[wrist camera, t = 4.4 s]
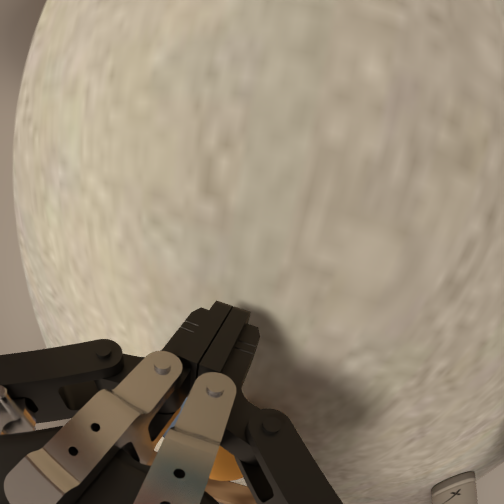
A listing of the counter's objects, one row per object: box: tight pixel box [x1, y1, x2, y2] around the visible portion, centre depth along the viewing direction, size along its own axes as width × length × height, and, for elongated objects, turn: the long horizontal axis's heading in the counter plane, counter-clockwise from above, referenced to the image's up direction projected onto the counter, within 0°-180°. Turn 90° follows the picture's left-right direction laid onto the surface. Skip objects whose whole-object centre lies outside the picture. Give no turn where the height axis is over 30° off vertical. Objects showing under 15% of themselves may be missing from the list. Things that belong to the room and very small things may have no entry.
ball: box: [209, 446, 243, 481], centre depth 14 cm, size 6×6×6 cm
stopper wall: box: [146, 451, 257, 504], centre depth 24 cm, size 20×2×3 cm, turn 78°
